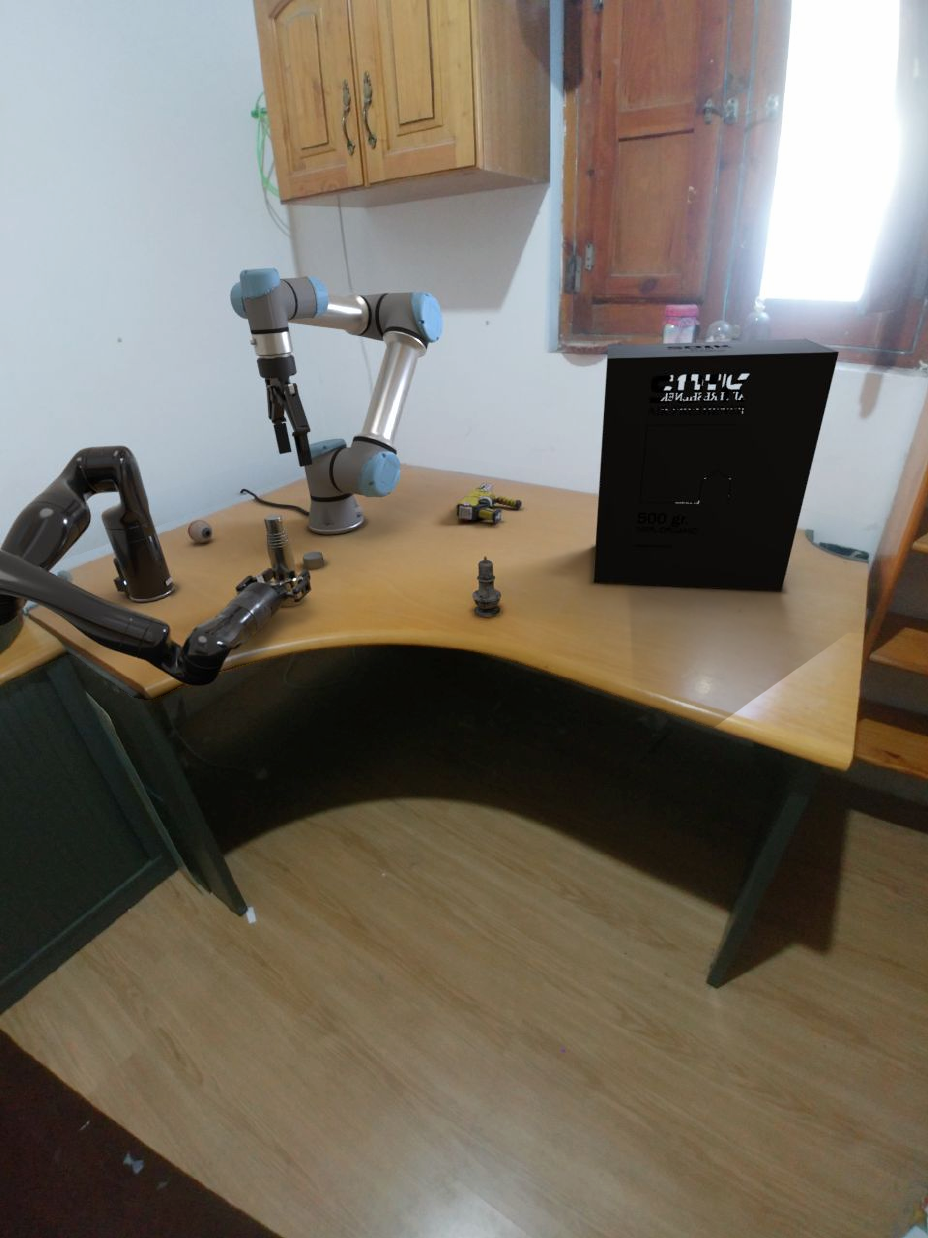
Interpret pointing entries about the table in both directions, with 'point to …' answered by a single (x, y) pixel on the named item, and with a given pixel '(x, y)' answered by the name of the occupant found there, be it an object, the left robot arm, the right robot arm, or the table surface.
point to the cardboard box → (707, 461)
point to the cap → (313, 560)
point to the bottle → (280, 553)
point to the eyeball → (200, 531)
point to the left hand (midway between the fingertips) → (289, 572)
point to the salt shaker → (486, 591)
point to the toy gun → (483, 505)
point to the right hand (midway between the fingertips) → (295, 458)
